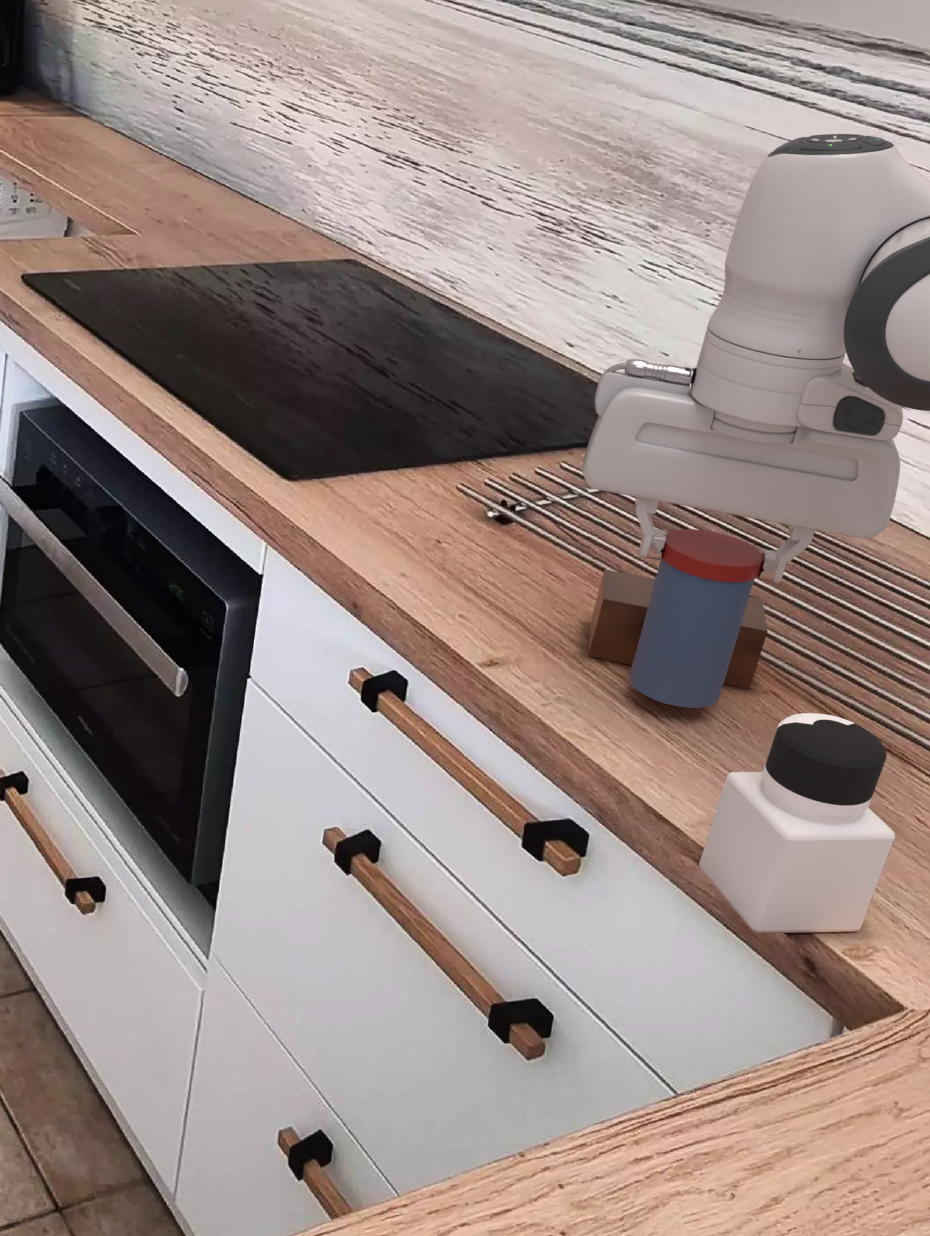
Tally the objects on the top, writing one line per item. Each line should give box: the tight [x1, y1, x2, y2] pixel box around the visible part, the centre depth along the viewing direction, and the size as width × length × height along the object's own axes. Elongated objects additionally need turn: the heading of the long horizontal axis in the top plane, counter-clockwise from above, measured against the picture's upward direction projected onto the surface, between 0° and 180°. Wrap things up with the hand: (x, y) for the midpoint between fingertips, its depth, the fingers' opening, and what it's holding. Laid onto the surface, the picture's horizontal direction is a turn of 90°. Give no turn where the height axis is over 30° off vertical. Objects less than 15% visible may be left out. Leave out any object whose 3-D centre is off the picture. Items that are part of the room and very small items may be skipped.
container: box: [628, 528, 763, 709], centre depth 125 cm, size 7×12×12 cm
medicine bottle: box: [698, 712, 896, 935], centre depth 103 cm, size 7×7×12 cm
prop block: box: [587, 569, 769, 690], centre depth 134 cm, size 12×6×5 cm, turn 73°
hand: (708, 567), depth 123 cm, fingers closed on container, 7 cm apart
